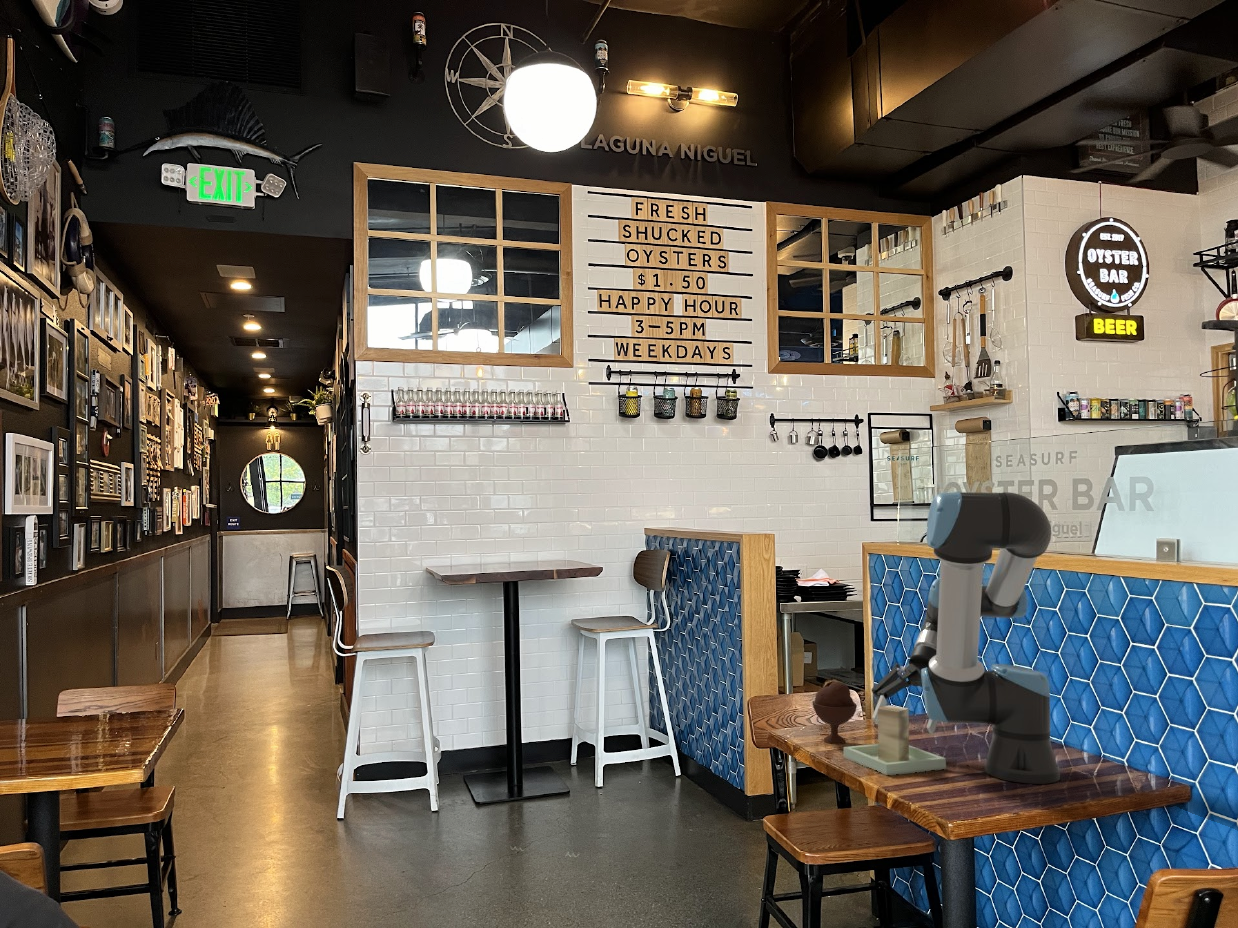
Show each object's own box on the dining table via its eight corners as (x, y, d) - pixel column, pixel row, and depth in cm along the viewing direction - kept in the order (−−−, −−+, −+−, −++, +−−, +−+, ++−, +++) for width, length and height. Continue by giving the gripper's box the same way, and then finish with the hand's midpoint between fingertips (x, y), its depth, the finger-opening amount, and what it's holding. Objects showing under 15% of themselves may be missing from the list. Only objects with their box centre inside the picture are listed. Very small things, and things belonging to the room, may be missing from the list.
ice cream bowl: (852, 736, 234) (852, 677, 235) (859, 747, 223) (859, 685, 224) (810, 735, 235) (810, 676, 236) (815, 746, 224) (815, 684, 225)
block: (888, 757, 213) (888, 705, 213) (909, 761, 209) (908, 708, 210) (878, 761, 209) (877, 708, 210) (898, 765, 206) (898, 711, 206)
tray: (945, 769, 204) (945, 758, 205) (886, 775, 199) (886, 764, 199) (899, 751, 219) (899, 741, 219) (843, 757, 214) (843, 746, 214)
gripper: (984, 669, 218) (959, 744, 207) (887, 657, 235) (859, 726, 223) (974, 649, 214) (949, 725, 203) (877, 638, 231) (848, 708, 220)
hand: (901, 726), depth 213 cm, fingers open, 13 cm apart
